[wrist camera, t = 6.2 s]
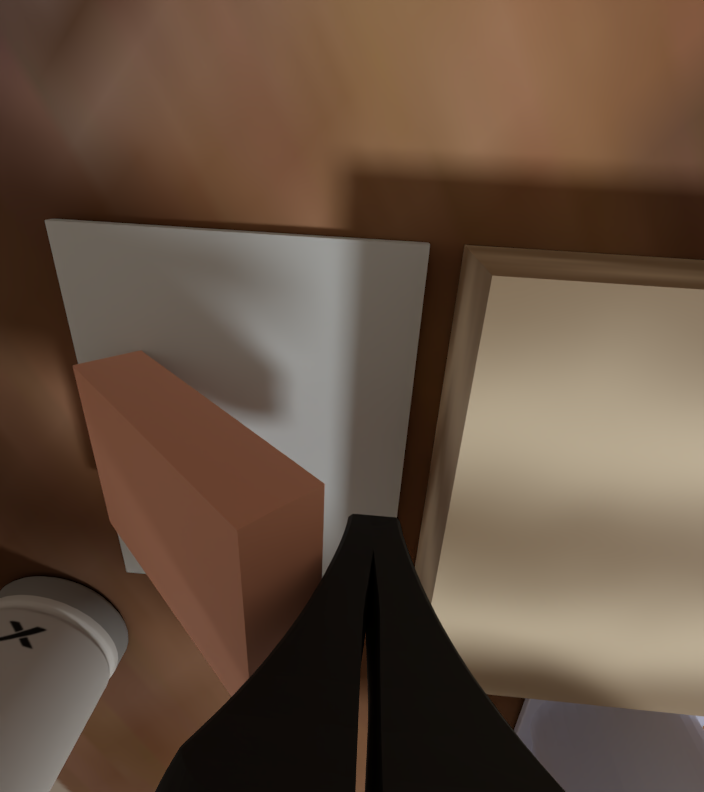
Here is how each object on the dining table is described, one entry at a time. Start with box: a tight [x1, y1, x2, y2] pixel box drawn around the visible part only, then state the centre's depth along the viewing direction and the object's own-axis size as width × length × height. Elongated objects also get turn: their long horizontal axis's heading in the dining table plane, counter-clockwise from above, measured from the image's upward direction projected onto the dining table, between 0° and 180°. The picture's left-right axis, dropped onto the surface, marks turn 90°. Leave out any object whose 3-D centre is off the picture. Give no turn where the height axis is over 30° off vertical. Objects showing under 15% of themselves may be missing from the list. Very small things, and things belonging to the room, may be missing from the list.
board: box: [415, 245, 704, 716], centre depth 14 cm, size 14×14×4 cm
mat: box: [44, 219, 430, 577], centre depth 16 cm, size 14×11×1 cm
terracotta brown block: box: [72, 350, 325, 697], centre depth 13 cm, size 6×9×2 cm
